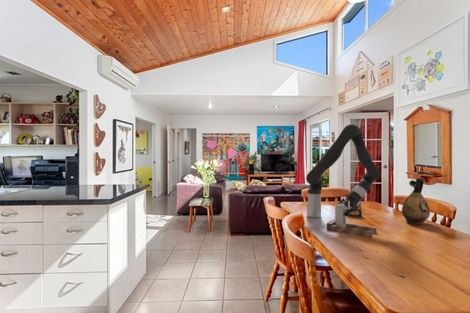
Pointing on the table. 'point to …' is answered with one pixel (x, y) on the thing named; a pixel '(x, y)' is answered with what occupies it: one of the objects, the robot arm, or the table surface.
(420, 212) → the ceramic jug
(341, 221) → the energy drink can
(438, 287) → the table surface
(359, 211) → the ammunition clip
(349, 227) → the channel
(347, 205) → the robot arm
